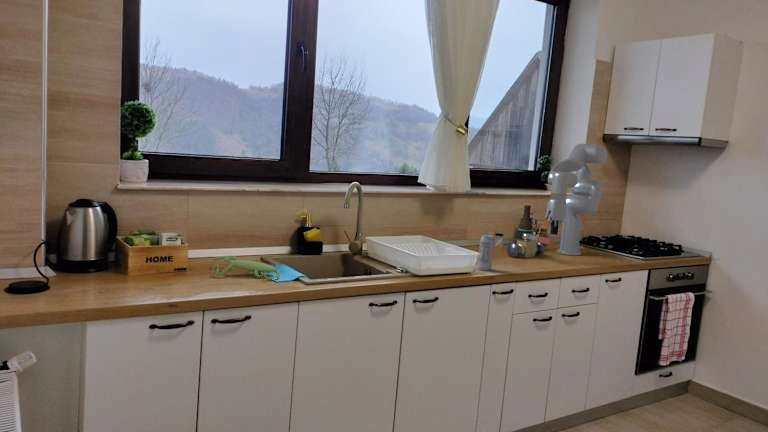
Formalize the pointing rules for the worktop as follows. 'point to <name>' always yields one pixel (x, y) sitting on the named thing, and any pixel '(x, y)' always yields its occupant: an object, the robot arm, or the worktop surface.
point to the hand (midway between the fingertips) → (553, 234)
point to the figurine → (246, 266)
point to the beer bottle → (525, 223)
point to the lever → (538, 238)
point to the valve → (525, 248)
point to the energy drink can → (485, 252)
